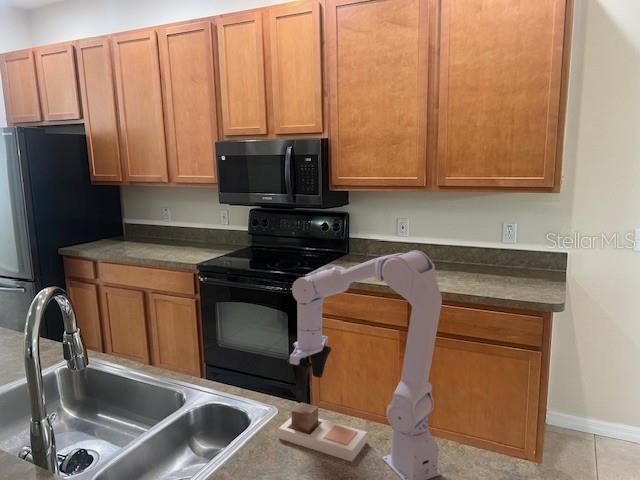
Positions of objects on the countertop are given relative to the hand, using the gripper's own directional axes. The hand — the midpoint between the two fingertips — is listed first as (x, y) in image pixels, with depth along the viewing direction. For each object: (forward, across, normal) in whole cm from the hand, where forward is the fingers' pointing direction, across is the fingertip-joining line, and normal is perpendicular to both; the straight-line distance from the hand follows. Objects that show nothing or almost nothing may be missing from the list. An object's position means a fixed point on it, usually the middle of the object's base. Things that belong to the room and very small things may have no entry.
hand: (309, 382), depth 111 cm
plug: (+10, +5, +1) cm, 11 cm away
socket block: (+10, +5, +6) cm, 13 cm away
